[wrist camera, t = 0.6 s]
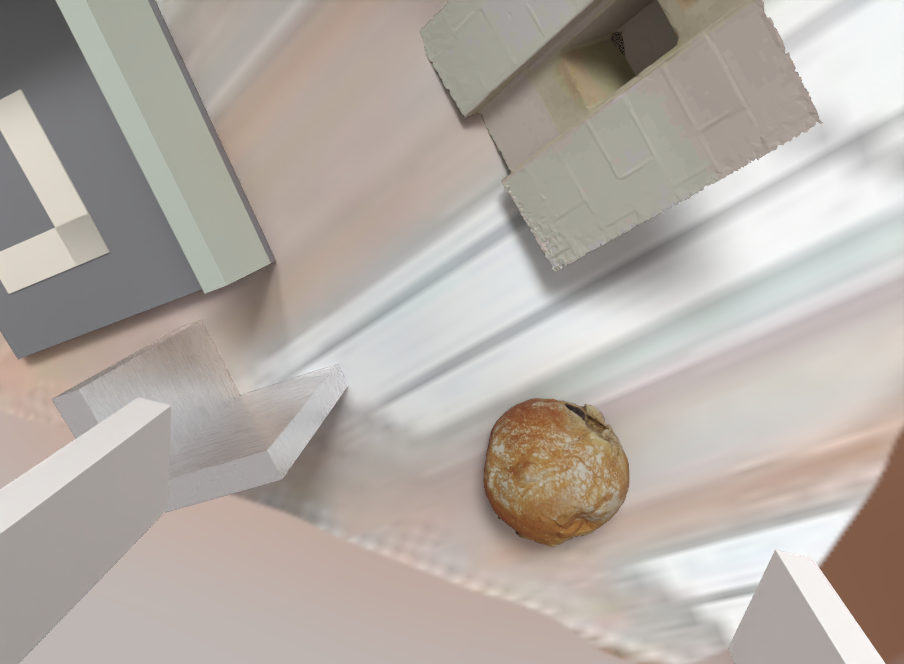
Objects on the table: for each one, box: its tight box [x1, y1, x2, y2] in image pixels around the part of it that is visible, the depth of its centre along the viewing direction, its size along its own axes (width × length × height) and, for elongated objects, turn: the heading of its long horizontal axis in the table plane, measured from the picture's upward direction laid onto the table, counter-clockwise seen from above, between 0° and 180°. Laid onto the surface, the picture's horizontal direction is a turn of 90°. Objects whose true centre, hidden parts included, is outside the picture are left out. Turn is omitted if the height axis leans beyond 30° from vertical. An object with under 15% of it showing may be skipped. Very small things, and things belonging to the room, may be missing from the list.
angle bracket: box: [52, 320, 348, 512], centre depth 36 cm, size 10×8×12 cm
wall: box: [420, 0, 823, 271], centre depth 30 cm, size 16×9×15 cm
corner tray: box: [0, 0, 276, 359], centre depth 35 cm, size 22×22×7 cm
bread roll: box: [484, 398, 629, 547], centre depth 39 cm, size 10×10×8 cm
